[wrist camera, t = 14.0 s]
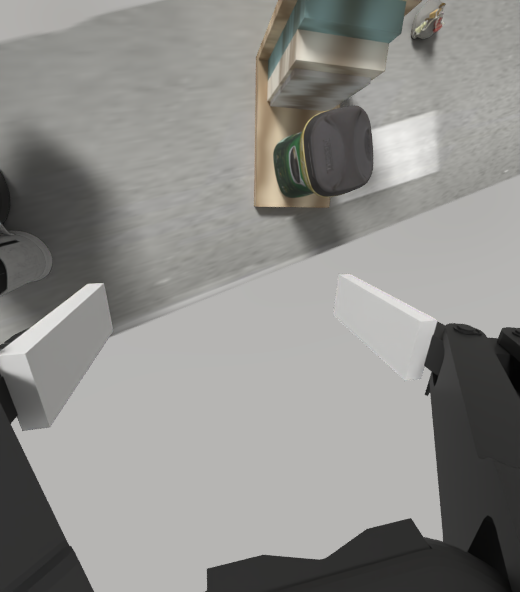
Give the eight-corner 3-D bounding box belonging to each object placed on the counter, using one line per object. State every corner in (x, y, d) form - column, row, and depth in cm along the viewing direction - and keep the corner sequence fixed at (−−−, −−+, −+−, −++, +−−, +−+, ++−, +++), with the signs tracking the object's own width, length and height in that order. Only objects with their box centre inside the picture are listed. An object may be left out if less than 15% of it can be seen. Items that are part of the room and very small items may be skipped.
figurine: (428, -4, 43) (457, -26, 38) (440, 23, 45) (469, 6, 39) (401, 27, 44) (425, 10, 39) (413, 52, 46) (438, 39, 41)
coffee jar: (320, 190, 48) (384, 188, 31) (279, 202, 48) (322, 205, 31) (311, 130, 45) (379, 90, 28) (267, 142, 44) (308, 107, 27)
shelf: (254, 206, 49) (290, 213, 29) (256, 57, 41) (307, -76, 21) (324, 207, 52) (403, 214, 31) (338, 67, 44) (454, -41, 24)
